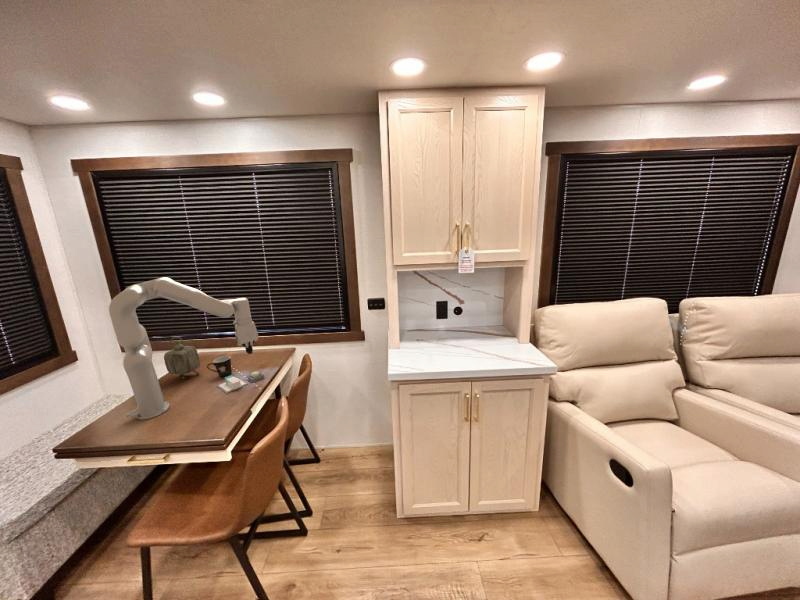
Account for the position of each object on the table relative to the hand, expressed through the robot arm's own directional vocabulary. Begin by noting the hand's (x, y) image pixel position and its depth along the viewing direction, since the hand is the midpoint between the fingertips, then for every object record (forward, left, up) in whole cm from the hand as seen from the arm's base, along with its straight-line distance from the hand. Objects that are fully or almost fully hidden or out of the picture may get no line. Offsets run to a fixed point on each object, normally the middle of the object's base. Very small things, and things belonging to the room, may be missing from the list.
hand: (249, 353), depth 165 cm
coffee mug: (-9, +22, -16) cm, 28 cm away
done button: (0, 0, -15) cm, 15 cm away
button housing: (0, 0, -16) cm, 16 cm away
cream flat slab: (-11, +4, -16) cm, 19 cm away
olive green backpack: (-23, +39, -16) cm, 48 cm away
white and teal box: (-11, +2, -15) cm, 18 cm away
